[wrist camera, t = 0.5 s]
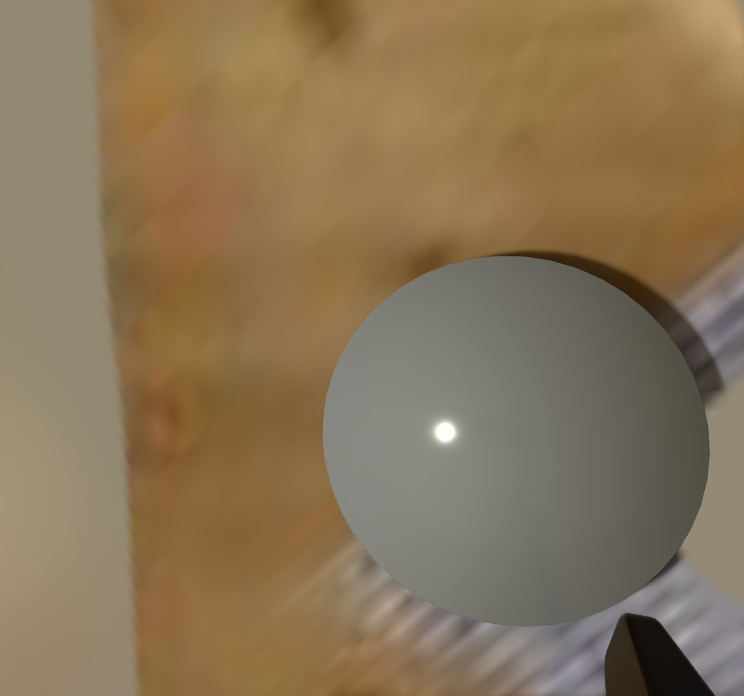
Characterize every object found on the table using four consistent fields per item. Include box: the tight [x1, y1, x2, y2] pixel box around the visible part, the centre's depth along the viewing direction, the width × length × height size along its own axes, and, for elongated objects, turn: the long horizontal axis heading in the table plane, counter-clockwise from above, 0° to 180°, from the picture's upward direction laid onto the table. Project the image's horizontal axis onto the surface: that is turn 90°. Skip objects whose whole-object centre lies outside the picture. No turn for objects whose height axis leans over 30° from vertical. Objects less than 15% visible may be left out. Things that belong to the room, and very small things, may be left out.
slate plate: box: [323, 256, 710, 626], centre depth 21 cm, size 12×12×1 cm
